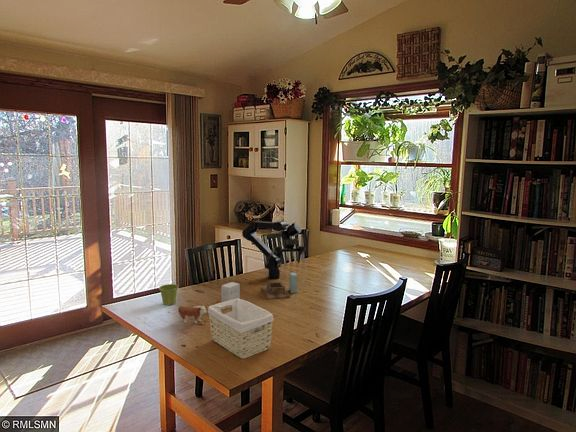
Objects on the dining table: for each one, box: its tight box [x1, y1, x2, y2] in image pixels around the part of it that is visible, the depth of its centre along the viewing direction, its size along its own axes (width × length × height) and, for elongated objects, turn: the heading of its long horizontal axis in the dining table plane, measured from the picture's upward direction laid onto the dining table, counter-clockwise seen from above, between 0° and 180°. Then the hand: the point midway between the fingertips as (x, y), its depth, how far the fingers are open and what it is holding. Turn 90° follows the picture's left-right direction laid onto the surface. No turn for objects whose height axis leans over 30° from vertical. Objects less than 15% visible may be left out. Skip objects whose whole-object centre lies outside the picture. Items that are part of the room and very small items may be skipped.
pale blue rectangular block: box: [288, 272, 298, 294], centre depth 224 cm, size 3×5×10 cm, turn 14°
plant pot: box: [158, 283, 179, 306], centre depth 203 cm, size 9×9×9 cm
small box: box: [220, 281, 241, 309], centre depth 203 cm, size 8×6×10 cm
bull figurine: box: [178, 305, 208, 324], centre depth 180 cm, size 4×13×8 cm, turn 80°
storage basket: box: [207, 298, 275, 360], centre depth 159 cm, size 24×16×15 cm
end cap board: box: [261, 281, 291, 300], centre depth 221 cm, size 12×18×4 cm, turn 14°
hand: (291, 263), depth 232 cm, fingers open, 9 cm apart
